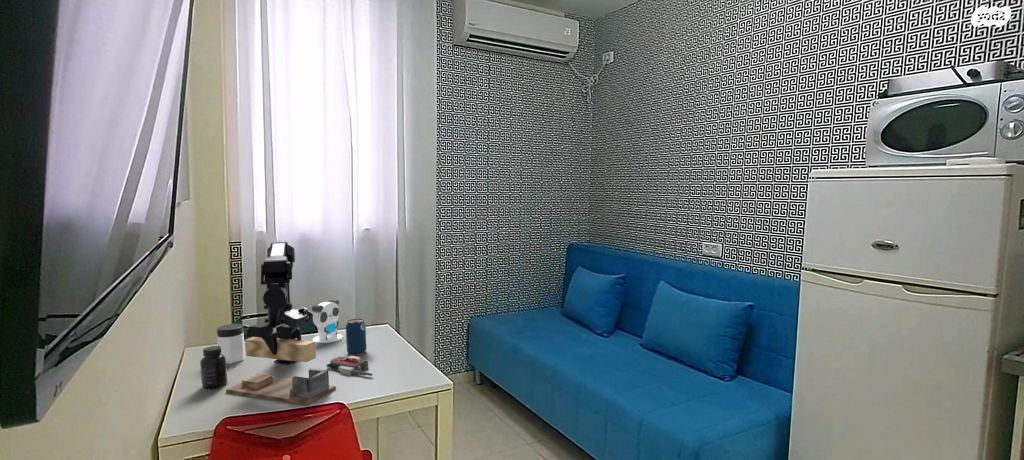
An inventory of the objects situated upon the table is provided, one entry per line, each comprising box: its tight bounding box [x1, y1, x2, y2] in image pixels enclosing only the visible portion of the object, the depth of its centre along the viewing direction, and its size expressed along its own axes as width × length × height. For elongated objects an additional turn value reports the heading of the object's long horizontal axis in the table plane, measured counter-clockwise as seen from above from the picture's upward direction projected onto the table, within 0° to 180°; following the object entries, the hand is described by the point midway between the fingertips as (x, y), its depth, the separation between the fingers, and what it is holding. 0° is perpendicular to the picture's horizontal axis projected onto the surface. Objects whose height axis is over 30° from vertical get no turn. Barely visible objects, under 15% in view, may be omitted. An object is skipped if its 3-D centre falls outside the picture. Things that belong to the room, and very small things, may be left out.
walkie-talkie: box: [326, 355, 373, 377], centre depth 171 cm, size 9×4×20 cm
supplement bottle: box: [199, 345, 228, 390], centre depth 158 cm, size 7×7×12 cm
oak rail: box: [244, 337, 317, 363], centre depth 153 cm, size 22×4×5 cm, turn 73°
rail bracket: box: [225, 367, 337, 406], centre depth 154 cm, size 30×12×6 cm, turn 71°
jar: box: [216, 323, 246, 365], centre depth 182 cm, size 9×8×12 cm
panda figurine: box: [311, 299, 343, 344], centre depth 206 cm, size 12×11×15 cm
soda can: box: [345, 318, 367, 356], centre depth 188 cm, size 7×7×12 cm
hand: (280, 352), depth 153 cm, fingers closed on oak rail, 4 cm apart
